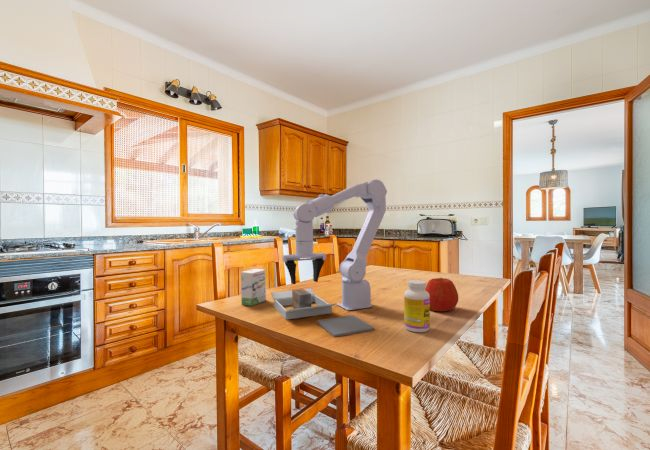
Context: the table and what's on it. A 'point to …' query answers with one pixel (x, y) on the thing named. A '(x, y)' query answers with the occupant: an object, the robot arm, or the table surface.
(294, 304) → the block
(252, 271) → the ink box
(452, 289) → the apple
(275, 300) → the grey shallow open piece
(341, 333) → the mat
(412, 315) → the supplement bottle
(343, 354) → the table surface
